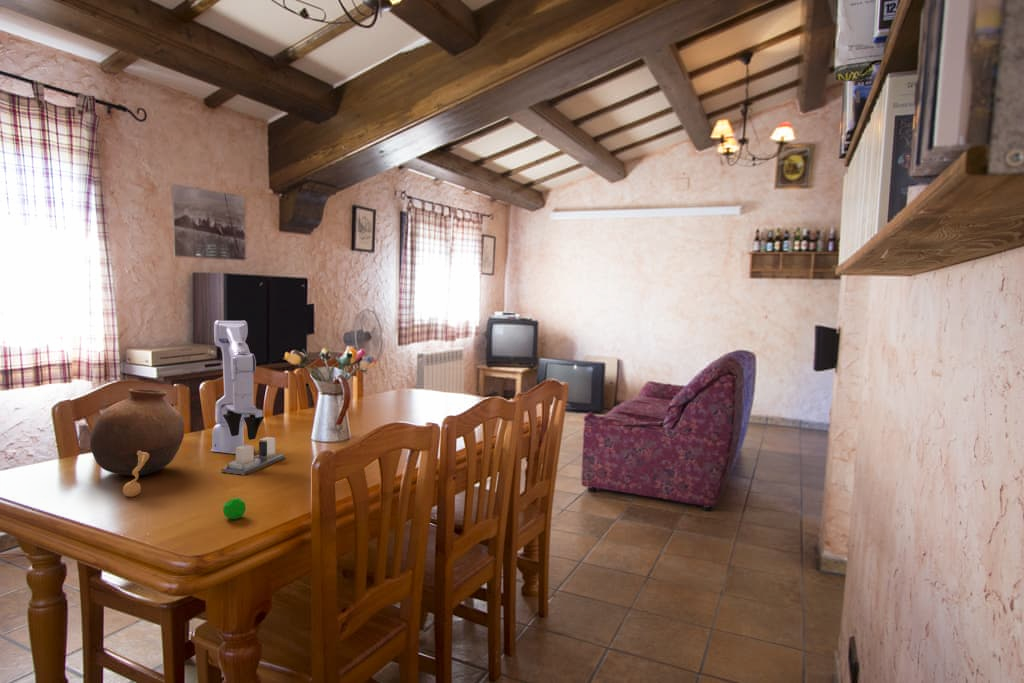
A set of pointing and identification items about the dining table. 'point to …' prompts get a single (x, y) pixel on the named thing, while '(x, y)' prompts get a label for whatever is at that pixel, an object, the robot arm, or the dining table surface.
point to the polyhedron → (234, 508)
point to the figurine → (133, 486)
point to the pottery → (137, 433)
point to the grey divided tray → (256, 458)
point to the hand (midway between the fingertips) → (243, 437)
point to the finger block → (244, 454)
